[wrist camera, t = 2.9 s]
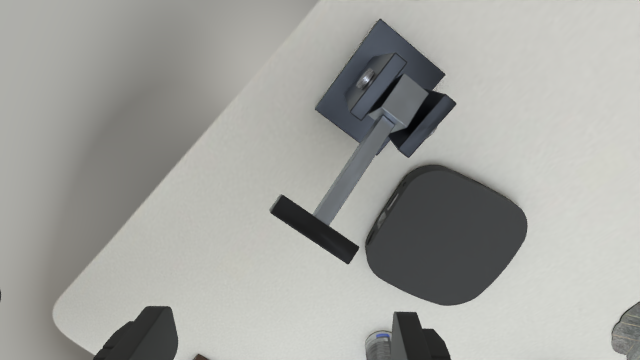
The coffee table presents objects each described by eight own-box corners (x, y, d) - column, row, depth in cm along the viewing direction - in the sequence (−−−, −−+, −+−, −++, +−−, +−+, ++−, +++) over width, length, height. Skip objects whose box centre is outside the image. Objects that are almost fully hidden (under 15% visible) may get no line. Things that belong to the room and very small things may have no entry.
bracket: (375, 153, 34) (397, 202, 22) (315, 107, 32) (303, 133, 20) (441, 74, 31) (509, 80, 19) (378, 20, 29) (408, -10, 17)
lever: (340, 258, 22) (351, 267, 19) (268, 209, 21) (270, 213, 18) (430, 118, 23) (451, 111, 21) (367, 66, 22) (381, 53, 20)
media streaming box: (455, 301, 40) (464, 319, 37) (353, 255, 38) (354, 271, 36) (531, 208, 35) (548, 220, 32) (418, 151, 34) (425, 159, 31)
